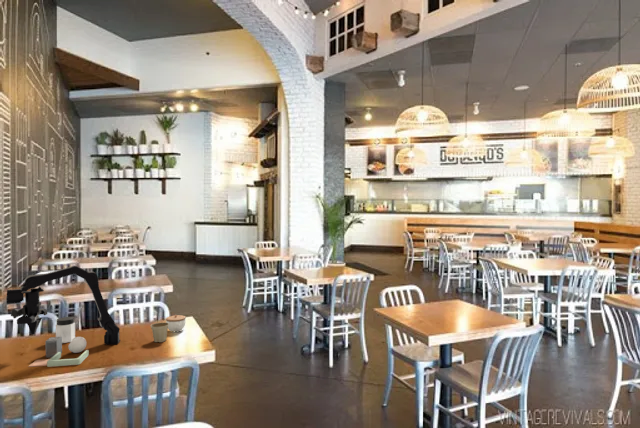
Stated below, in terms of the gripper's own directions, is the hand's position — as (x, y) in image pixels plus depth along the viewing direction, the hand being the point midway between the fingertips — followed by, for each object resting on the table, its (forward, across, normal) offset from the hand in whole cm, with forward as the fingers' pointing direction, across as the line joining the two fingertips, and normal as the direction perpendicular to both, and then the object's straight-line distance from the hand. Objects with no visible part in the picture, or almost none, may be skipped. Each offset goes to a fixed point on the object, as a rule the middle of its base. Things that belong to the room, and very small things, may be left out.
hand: (33, 333), depth 213 cm
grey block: (+11, 0, +9) cm, 14 cm away
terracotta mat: (+11, +11, +8) cm, 17 cm away
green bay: (+11, +10, +19) cm, 24 cm away
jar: (+11, -24, +6) cm, 27 cm away
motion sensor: (+11, -2, +19) cm, 22 cm away
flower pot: (+11, -13, +56) cm, 59 cm away
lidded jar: (+11, -31, +62) cm, 70 cm away
